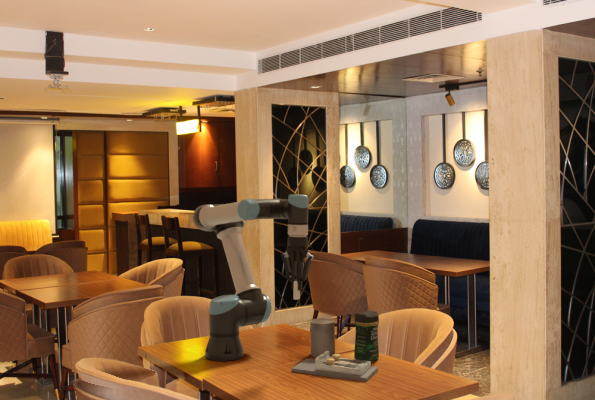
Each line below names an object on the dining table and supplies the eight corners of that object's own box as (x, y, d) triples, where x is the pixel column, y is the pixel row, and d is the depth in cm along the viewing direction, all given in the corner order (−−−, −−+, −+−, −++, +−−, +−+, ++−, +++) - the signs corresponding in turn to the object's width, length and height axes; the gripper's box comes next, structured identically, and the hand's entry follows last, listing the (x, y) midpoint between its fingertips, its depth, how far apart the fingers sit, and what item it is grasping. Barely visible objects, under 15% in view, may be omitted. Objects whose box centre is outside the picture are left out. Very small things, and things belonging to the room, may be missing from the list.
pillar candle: (327, 350, 235) (327, 314, 235) (339, 356, 226) (338, 318, 226) (306, 353, 231) (305, 316, 231) (317, 359, 222) (316, 321, 222)
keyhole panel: (315, 370, 204) (315, 358, 204) (326, 362, 214) (326, 350, 214) (361, 375, 197) (361, 363, 197) (370, 367, 207) (370, 355, 207)
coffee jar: (367, 364, 216) (367, 314, 216) (351, 360, 221) (350, 311, 221) (382, 358, 223) (382, 310, 223) (366, 355, 228) (365, 308, 228)
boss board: (291, 371, 206) (291, 358, 206) (307, 361, 219) (306, 348, 219) (366, 381, 195) (366, 367, 195) (378, 370, 208) (378, 356, 208)
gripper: (277, 235, 213) (276, 298, 214) (309, 237, 208) (308, 302, 209) (286, 234, 220) (285, 295, 221) (317, 236, 215) (316, 298, 215)
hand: (296, 298), depth 215 cm, fingers closed
